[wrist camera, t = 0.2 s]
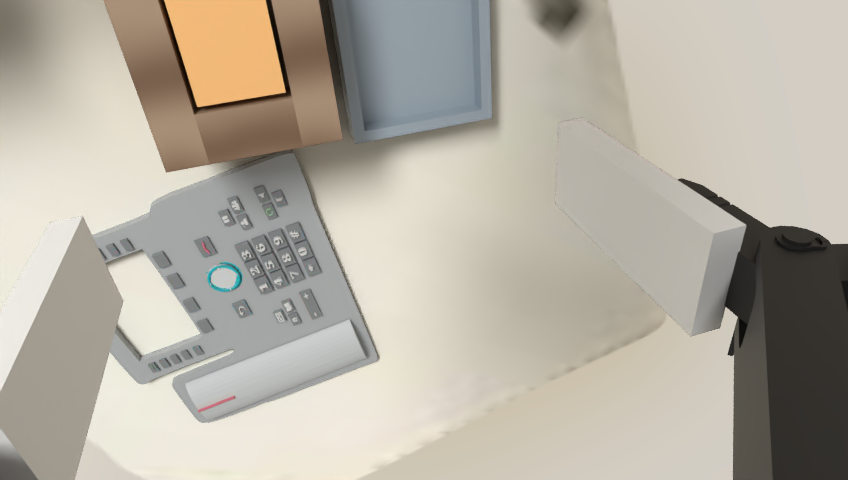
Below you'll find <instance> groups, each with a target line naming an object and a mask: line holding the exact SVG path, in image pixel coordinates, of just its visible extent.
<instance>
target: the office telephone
mask: <svg viewBox="0 0 848 480" xmlns="http://www.w3.org/2000/svg"><path fill="white" fill-rule="evenodd" d="M92 236H93V239H94V241H95V243H96V245H97V247H98V249H99V251H100V253H101V255H102V257H103V259H104V262H105V263H106V262H109V261H111V260H114V259H117V258H119V257H122V256H125V255H127V254H130V253H133V252H136V251H138V250H141V249H142V250H143V251H144V252H145V254H146V255H147V256H148V258H149V259H150V260H151V262H152V263H153V264H154V266H155V267H156V269H157V270H158V272H159V273H160V274H161V276H162V277H163V279H164V280H165V282H166V283H167V284H168V286H169V287H170V289H171V290H172V292H173V293H174V294H175V296H176V297H177V299H178V300H179V302H180V303H181V305H182V306H183V308H184V309H185V311H186V312H187V313H188V315H189V316H190V318H191V319H192V321H193V322H194V324H195V325H196V327H197V328H198V330H199V332H200V333H201V334H199V335H196V336H194V337H191V338H189V339H186V340H183V341H181V342H178V343H176V344H173V345H170V346H168V347H165V348H162V349H160V350H157V351H154V352H152V353H149V354H146V355H143V356H140V355H139V354H138V353H137V352H136V350H135V349H134V348H133V347H132V346H131V345H130V343H129V342H128V341H127V340H126V339H125V337H124V336H123V335H122V334H121V332H120V331H119V330H118V329H117V327H116V330H115V333H114V337H113V341H112V344H111V348H110V352H111V354H112V355H113V356H114V357H115V359H116V360H117V361H118V362H119V363H120V365H121V366H122V367H123V368H124V369H125V370H126V371H127V372H128V373H129V374H130V375H131V376H132V378H133V379H134V380H135V381H136V382H138V383H139V384H146V383H148V382H149V381H151V380H153V379H155V378H157V377H160V376H162V375H165V374H167V373H170V372H172V371H175V370H177V369H180V368H182V367H185V366H187V365H190V364H193V363H195V362H198V361H201V360H203V359H206V358H208V357H211V356H214V355H216V354H219V353H222V352H224V351H227V350H230V349H234V352H233V353H231V354H229V355H227V356H225V357H222V358H220V359H217V360H215V361H213V362H210V363H208V364H205V365H203V366H200V367H198V368H195V369H193V370H190V371H188V372H185V373H183V374H180V375H178V376H176V377H174V379H173V385H172V386H173V388H174V390H175V391H176V392H177V394H178V395H179V397H180V398H181V400H182V401H183V402H184V404H185V405H186V406H187V408H188V409H189V410H190V411H191V413H192V414H193V415H194V417H195V418H196V419H197V420H198V421H199V422H202V423H206V422H212V421H215V420H218V419H221V418H224V417H227V416H230V415H233V414H236V413H238V412H241V411H244V410H246V409H249V408H252V407H254V406H257V405H259V404H261V403H264V402H269V401H272V400H275V399H278V398H280V397H283V396H286V395H288V394H291V393H293V392H296V391H299V390H301V389H304V388H307V387H309V386H312V385H315V384H317V383H320V382H322V381H325V380H328V379H330V378H333V377H336V376H338V375H341V374H343V373H346V372H349V371H351V370H354V369H357V368H359V367H362V366H365V365H368V364H370V363H373V362H376V361H377V358H378V356H377V353H376V351H375V348H374V346H373V343H372V341H371V339H370V336H369V334H368V331H367V329H366V327H365V324H364V322H363V320H362V317H361V315H360V313H359V310H358V308H357V306H356V303H355V301H354V298H353V296H352V294H351V291H350V289H349V287H348V284H347V282H346V280H345V277H344V275H343V273H342V270H341V268H340V266H339V263H338V261H337V259H336V256H335V254H334V252H333V249H332V247H331V244H330V242H329V240H328V237H327V235H326V233H325V230H324V228H323V226H322V223H321V221H320V219H319V216H318V214H317V212H316V209H315V207H314V204H313V202H312V199H311V194H310V191H309V188H308V185H307V182H306V180H305V177H304V175H303V173H302V170H301V168H300V165H299V163H298V161H297V158H296V156H295V153H294V151H293V150H284V151H280V152H277V153H274V154H272V155H269V156H266V157H264V158H261V159H258V160H256V161H253V162H250V163H248V164H245V165H242V166H240V167H237V168H234V169H232V170H229V171H226V172H224V173H221V174H218V175H216V176H213V177H210V178H208V179H205V180H202V181H200V182H197V183H195V184H192V185H189V186H187V187H184V188H181V189H179V190H176V191H173V192H171V193H168V194H166V195H164V196H162V197H160V198H158V199H156V200H155V201H153V203H152V204H151V208H150V212H149V213H147V214H144V215H142V216H140V217H138V218H135V219H133V220H130V221H128V222H125V223H123V224H120V225H117V226H115V227H112V228H110V229H107V230H105V231H102V232H99V233H96V234H94V235H92ZM239 273H240V275H239Z"/></svg>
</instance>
